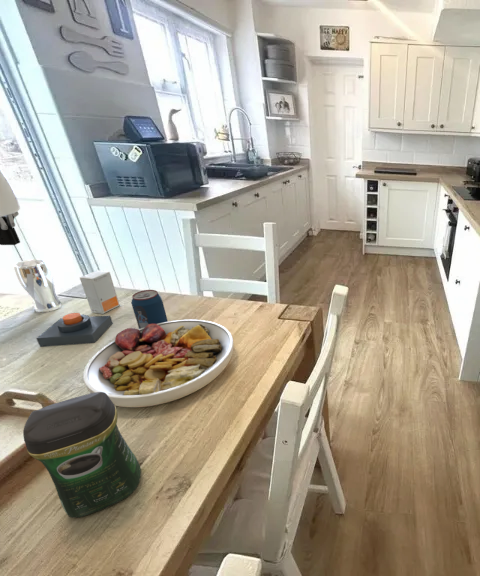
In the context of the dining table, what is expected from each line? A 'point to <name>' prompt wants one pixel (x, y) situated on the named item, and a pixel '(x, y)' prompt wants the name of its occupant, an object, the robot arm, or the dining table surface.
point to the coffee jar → (83, 453)
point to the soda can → (148, 308)
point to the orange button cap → (72, 318)
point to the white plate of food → (159, 362)
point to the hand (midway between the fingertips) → (10, 243)
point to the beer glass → (38, 284)
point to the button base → (75, 331)
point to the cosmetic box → (100, 291)
